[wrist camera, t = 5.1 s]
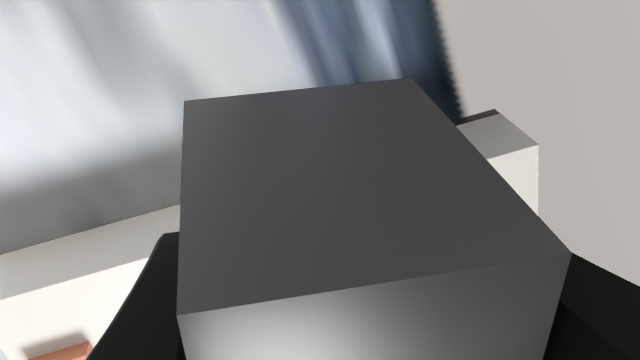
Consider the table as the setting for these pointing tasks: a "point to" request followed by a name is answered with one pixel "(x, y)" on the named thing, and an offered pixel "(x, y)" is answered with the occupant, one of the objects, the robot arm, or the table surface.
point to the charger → (354, 233)
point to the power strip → (136, 247)
